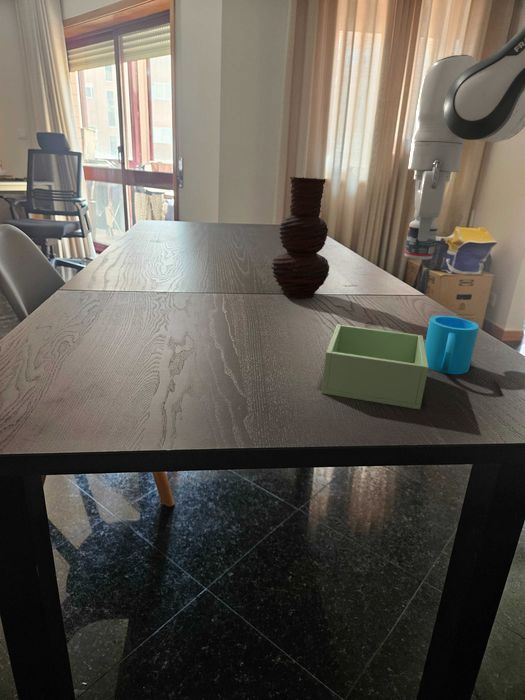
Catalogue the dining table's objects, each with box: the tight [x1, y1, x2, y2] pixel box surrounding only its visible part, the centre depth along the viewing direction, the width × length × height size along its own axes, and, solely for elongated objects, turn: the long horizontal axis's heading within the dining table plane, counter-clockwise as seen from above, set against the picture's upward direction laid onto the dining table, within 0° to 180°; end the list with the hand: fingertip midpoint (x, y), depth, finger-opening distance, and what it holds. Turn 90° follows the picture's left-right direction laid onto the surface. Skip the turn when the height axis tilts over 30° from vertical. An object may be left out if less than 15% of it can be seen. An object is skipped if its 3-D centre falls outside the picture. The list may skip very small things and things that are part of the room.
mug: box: [424, 315, 480, 375], centre depth 83 cm, size 12×8×8 cm
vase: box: [270, 176, 330, 300], centre depth 122 cm, size 15×15×30 cm
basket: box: [321, 323, 429, 410], centre depth 76 cm, size 15×15×7 cm
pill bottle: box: [404, 209, 439, 261], centre depth 90 cm, size 5×5×9 cm
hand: (421, 238), depth 90 cm, fingers closed on pill bottle, 5 cm apart
